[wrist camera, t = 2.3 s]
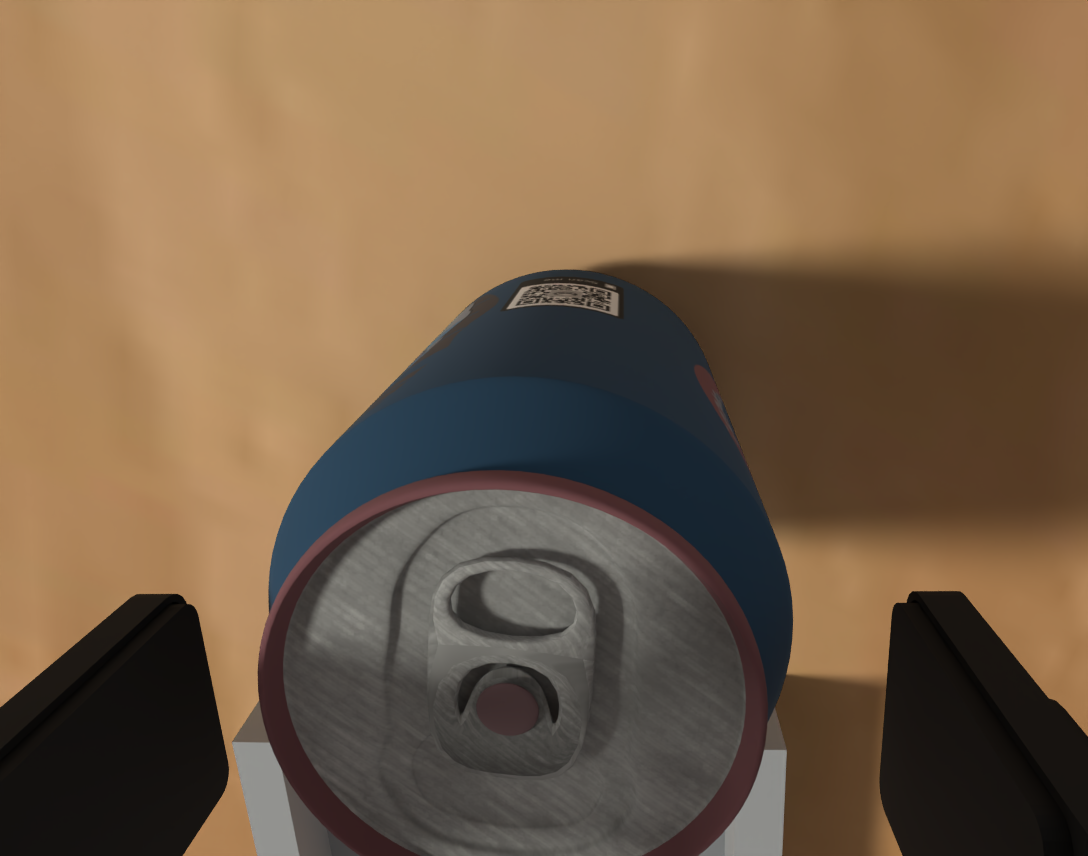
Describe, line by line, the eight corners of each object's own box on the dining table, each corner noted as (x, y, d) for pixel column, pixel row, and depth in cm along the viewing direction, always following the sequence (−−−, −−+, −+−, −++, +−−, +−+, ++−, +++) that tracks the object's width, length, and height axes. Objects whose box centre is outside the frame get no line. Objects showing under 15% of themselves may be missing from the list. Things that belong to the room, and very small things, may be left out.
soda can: (693, 538, 21) (775, 984, 10) (432, 514, 22) (225, 914, 10) (728, 271, 19) (886, 455, 8) (435, 251, 19) (173, 395, 8)
